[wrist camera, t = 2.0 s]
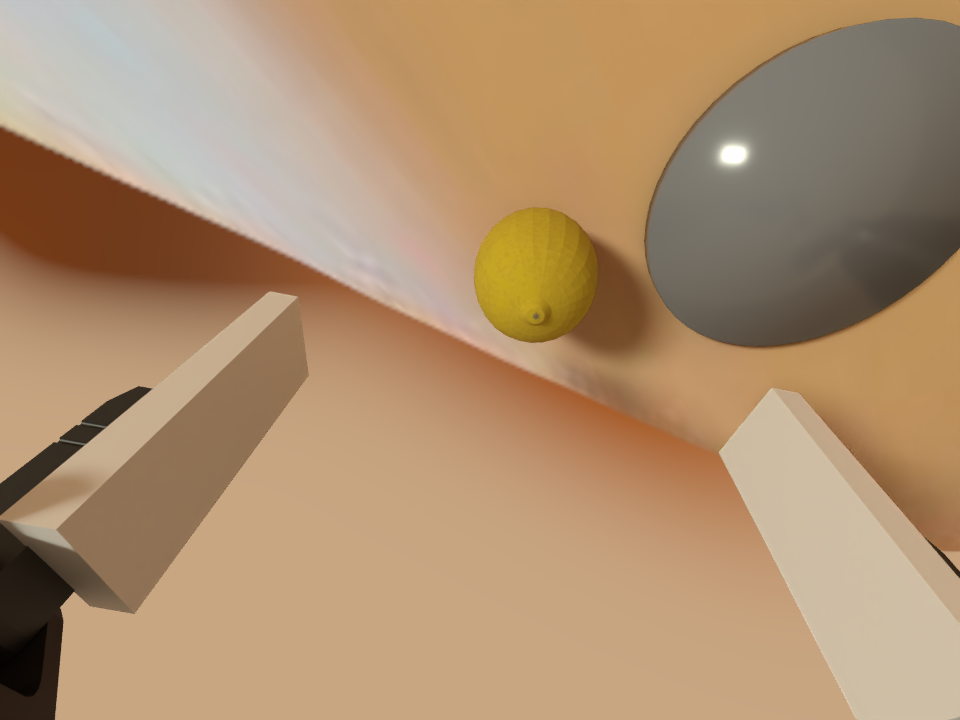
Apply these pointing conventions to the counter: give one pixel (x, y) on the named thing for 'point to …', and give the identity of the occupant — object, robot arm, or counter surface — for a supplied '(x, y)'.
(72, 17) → the counter surface
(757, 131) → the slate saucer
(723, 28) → the counter surface
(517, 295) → the lemon
